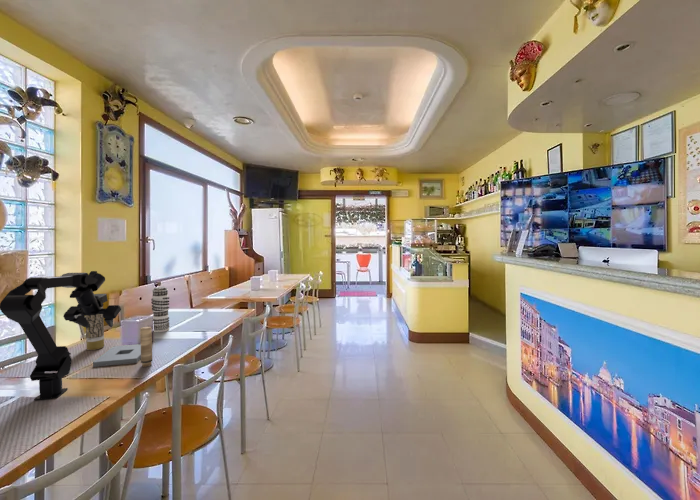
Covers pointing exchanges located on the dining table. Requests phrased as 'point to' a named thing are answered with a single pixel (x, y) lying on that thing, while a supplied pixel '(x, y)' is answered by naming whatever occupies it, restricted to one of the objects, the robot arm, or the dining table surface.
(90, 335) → the grey patterned cylinder
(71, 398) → the dining table surface
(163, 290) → the decorative candle
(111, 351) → the grey peg hole board
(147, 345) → the beech peg
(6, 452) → the dining table surface
